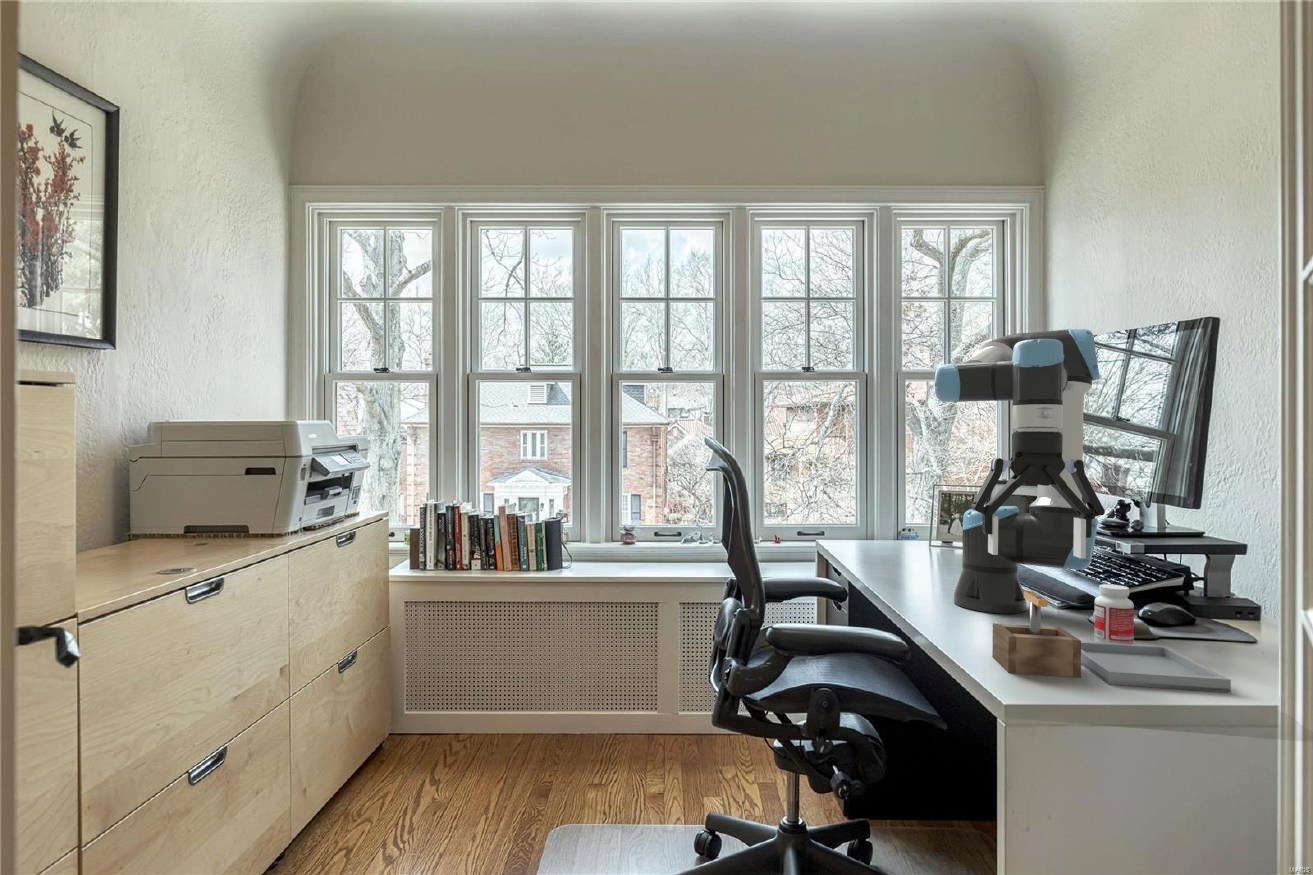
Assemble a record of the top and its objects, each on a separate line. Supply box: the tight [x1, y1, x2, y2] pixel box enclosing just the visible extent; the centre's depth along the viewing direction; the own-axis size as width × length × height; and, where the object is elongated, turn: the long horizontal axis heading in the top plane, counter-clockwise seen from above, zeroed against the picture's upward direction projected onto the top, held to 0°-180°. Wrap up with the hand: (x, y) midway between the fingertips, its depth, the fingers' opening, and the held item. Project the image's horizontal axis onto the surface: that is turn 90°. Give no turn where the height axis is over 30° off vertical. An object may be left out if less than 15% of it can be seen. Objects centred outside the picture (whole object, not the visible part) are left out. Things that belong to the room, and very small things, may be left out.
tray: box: [1081, 640, 1232, 693], centre depth 112 cm, size 17×17×2 cm
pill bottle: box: [1093, 583, 1135, 644], centre depth 126 cm, size 6×6×11 cm
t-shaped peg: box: [1023, 590, 1048, 635], centre depth 113 cm, size 6×2×12 cm, turn 170°
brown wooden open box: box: [991, 622, 1082, 678], centre depth 113 cm, size 11×9×6 cm
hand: (1035, 555), depth 113 cm, fingers open, 13 cm apart
